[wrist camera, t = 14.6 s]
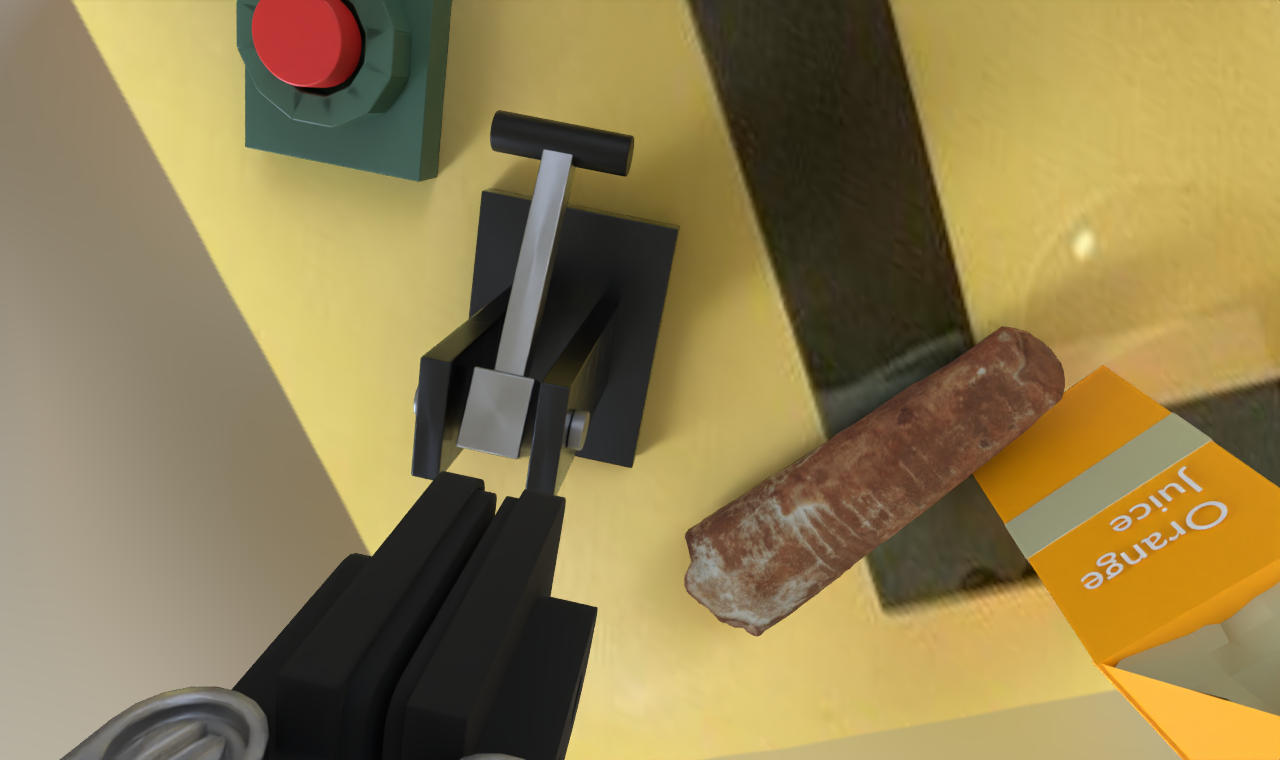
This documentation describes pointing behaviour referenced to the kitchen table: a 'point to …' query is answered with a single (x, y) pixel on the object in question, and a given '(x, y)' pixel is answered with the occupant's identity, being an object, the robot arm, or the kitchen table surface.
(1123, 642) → the orange juice
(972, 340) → the kitchen table surface
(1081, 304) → the kitchen table surface
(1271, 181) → the kitchen table surface
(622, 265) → the bracket
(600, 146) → the lever
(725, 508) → the salami
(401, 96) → the button box
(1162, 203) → the kitchen table surface
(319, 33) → the button
